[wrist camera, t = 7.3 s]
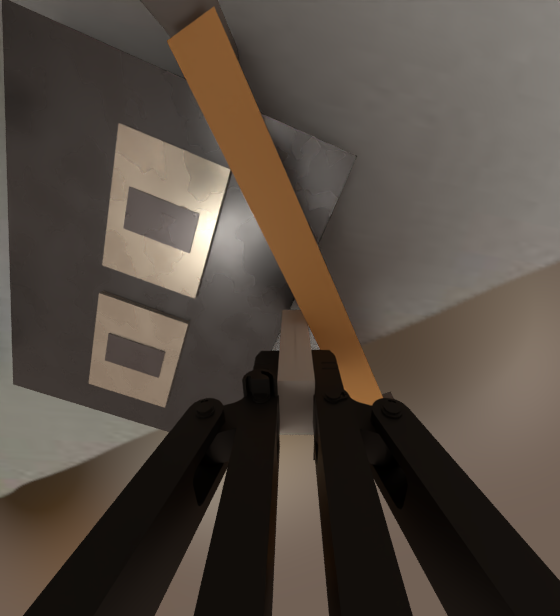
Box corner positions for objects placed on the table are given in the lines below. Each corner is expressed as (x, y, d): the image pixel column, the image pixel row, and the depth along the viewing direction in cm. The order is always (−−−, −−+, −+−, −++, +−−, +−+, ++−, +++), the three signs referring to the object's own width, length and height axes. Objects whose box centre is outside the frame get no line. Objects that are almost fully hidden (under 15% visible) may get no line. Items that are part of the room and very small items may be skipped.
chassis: (53, 30, 15) (-10, -10, 12) (346, 160, 17) (359, 155, 14) (44, 362, 25) (7, 388, 22) (234, 422, 27) (226, 455, 24)
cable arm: (180, 48, 15) (94, -56, 9) (230, 13, 15) (177, -131, 8) (344, 384, 24) (363, 460, 17) (380, 372, 23) (414, 446, 17)
